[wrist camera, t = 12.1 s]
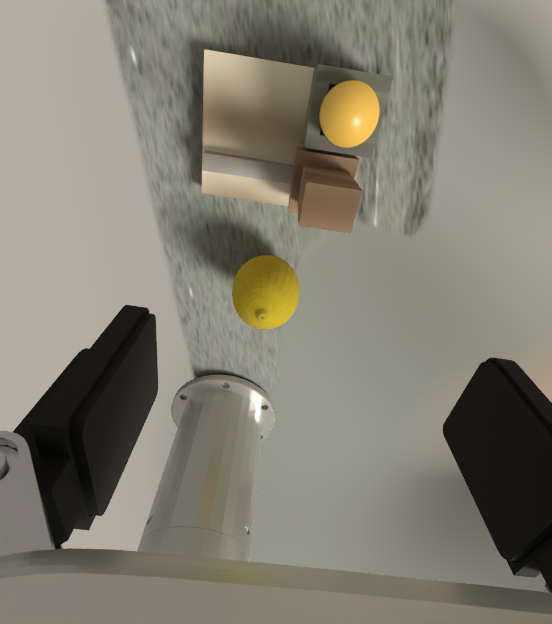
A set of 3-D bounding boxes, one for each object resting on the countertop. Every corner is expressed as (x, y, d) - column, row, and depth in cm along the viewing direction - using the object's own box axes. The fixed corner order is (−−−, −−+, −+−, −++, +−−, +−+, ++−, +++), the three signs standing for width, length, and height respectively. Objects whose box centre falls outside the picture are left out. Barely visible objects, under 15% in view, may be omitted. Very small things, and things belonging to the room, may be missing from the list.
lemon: (226, 264, 32) (209, 312, 25) (273, 229, 30) (268, 270, 23) (264, 305, 34) (258, 358, 27) (310, 274, 32) (315, 324, 25)
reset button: (356, 140, 24) (370, 151, 20) (310, 133, 24) (315, 142, 20) (369, 86, 22) (387, 85, 18) (320, 78, 22) (327, 75, 18)
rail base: (343, 209, 28) (354, 232, 24) (205, 188, 28) (188, 208, 23) (375, 79, 24) (396, 77, 19) (208, 51, 23) (188, 42, 18)
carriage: (339, 208, 27) (355, 247, 20) (288, 200, 26) (287, 237, 20) (352, 152, 24) (375, 176, 18) (297, 144, 24) (299, 164, 18)
